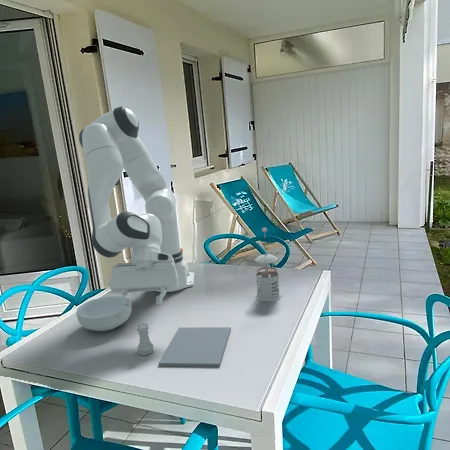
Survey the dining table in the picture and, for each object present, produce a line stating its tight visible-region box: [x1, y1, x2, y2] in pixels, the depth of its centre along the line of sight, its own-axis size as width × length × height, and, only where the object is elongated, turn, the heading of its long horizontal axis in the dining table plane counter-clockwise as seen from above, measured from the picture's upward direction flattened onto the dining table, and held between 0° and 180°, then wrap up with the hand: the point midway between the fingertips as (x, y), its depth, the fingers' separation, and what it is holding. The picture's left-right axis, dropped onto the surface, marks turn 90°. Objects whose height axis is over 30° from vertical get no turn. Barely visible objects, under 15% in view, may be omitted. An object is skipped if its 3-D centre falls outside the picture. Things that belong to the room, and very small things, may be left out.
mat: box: [158, 326, 232, 368], centre depth 113 cm, size 20×16×1 cm
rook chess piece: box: [136, 322, 155, 356], centre depth 112 cm, size 4×4×8 cm
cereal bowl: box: [75, 295, 133, 332], centre depth 130 cm, size 17×17×7 cm
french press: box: [254, 227, 283, 302], centre depth 143 cm, size 10×12×25 cm
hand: (142, 304), depth 118 cm, fingers open, 8 cm apart
